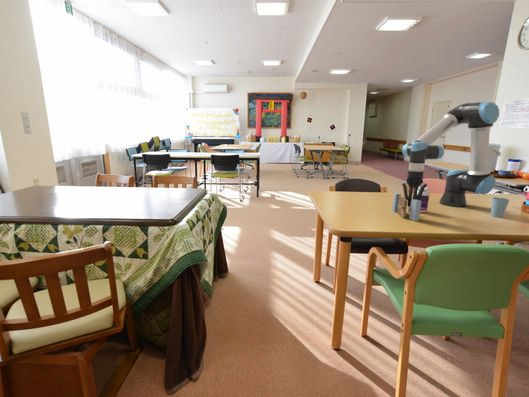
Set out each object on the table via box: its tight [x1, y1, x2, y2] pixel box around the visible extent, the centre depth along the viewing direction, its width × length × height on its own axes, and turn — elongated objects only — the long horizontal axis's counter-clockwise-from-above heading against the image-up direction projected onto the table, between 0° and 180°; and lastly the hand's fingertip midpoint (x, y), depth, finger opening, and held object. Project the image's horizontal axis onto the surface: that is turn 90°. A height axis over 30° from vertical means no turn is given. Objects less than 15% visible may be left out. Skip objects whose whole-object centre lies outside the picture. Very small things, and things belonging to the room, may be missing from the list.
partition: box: [391, 192, 422, 222], centre depth 166 cm, size 3×20×11 cm, turn 10°
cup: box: [490, 196, 510, 219], centre depth 168 cm, size 8×8×10 cm
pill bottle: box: [417, 186, 430, 214], centre depth 175 cm, size 8×8×14 cm
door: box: [396, 194, 408, 219], centre depth 167 cm, size 2×12×10 cm, turn 172°
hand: (410, 212), depth 165 cm, fingers closed
